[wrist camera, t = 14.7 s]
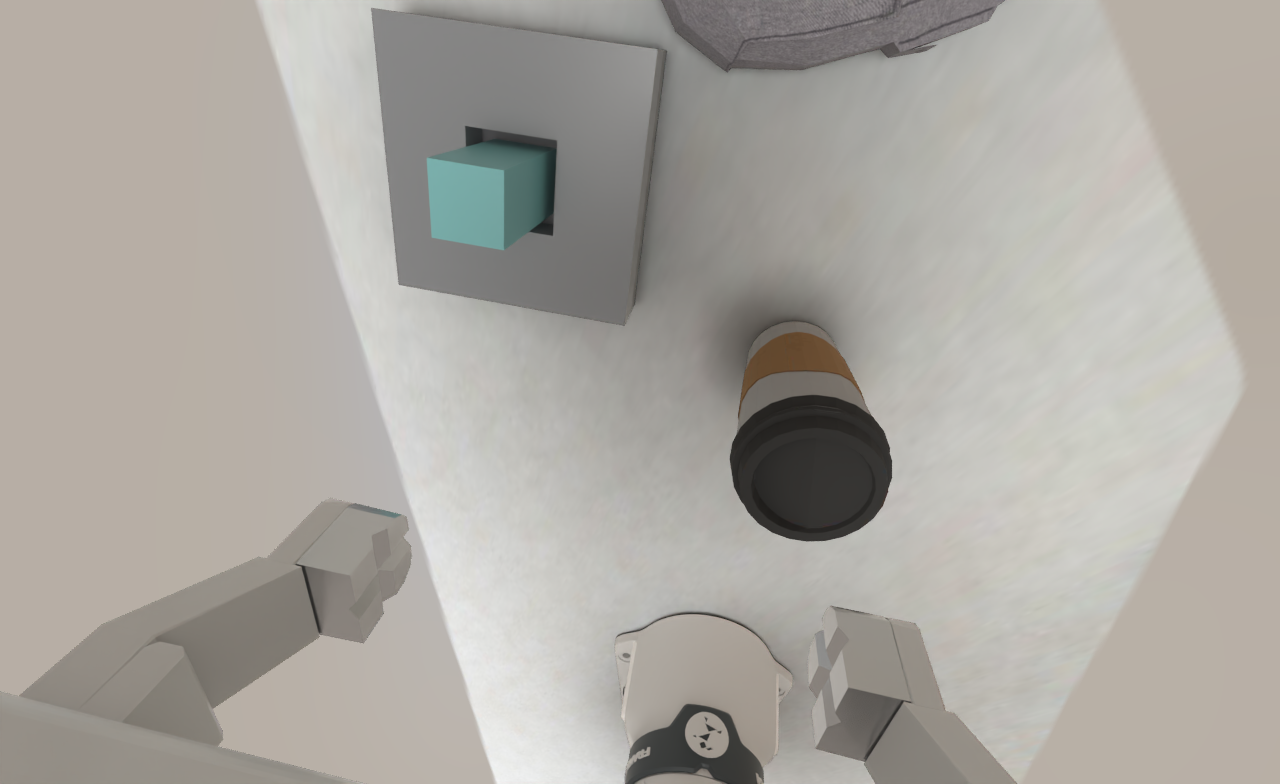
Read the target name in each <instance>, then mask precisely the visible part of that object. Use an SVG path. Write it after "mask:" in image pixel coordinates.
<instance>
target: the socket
mask: <svg viewBox="0 0 1280 784" xmlns="http://www.w3.org/2000/svg"><path fill="white" fill-rule="evenodd" d="M371 11H372V21H373V31H374V41H375V51H376V61H377V71H378V81H379V91H380V101H381V111H382V121H383V132H384V142H385V152H386V162H387V172H388V182H389V192H390V202H391V212H392V222H393V232H394V242H395V252H396V262H397V272H398V282H399V285H403V286H409V287H414V288H420V289H425V290H431V291H436V292H442V293H447V294H453V295H458V296H464V297H469V298H475V299H480V300H486V301H491V302H497V303H502V304H508V305H513V306H519V307H524V308H530V309H535V310H541V311H546V312H552V313H557V314H563V315H568V316H574V317H579V318H585V319H590V320H596V321H601V322H607V323H612V324H618V325H623V326H625V324H626V322H627V319H628V317H629V315H630V313H631V311H632V309H633V307H634V304H635V297H636V289H637V281H638V273H639V265H640V257H641V249H642V242H643V234H644V226H645V218H646V210H647V202H648V194H649V186H650V179H651V171H652V163H653V155H654V147H655V139H656V131H657V123H658V116H659V108H660V100H661V92H662V84H663V76H664V68H665V60H666V53H667V51H664V50H659V49H653V48H646V47H640V46H633V45H626V44H619V43H612V42H605V41H598V40H591V39H584V38H577V37H570V36H563V35H556V34H549V33H542V32H535V31H528V30H521V29H514V28H507V27H500V26H493V25H486V24H479V23H472V22H465V21H458V20H451V19H444V18H438V17H431V16H424V15H417V14H410V13H403V12H396V11H389V10H382V9H375V8H371ZM492 139H501V140H507V141H513V142H519V143H526V144H532V145H538V146H544V147H550V148H557V150H556V171H555V193H554V213H553V214H552V215H550V216H549V217H548V218H546V219H545V220H544V221H542V222H541V223H540V224H538V225H537V226H536V227H534V228H533V229H532V230H530V231H529V232H528V233H526V234H525V235H524V236H522V237H521V238H520V239H518V240H517V241H516V242H514V243H513V244H512V245H510V246H509V247H508V248H506V249H505V250H499V249H493V248H488V247H482V246H476V245H471V244H465V243H459V242H454V241H448V240H442V239H437V238H432V234H431V219H430V203H429V187H428V172H427V158H428V157H431V156H435V155H438V154H442V153H445V152H449V151H453V150H456V149H460V148H463V147H467V146H471V145H474V144H478V143H481V142H485V141H489V140H492Z"/></svg>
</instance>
